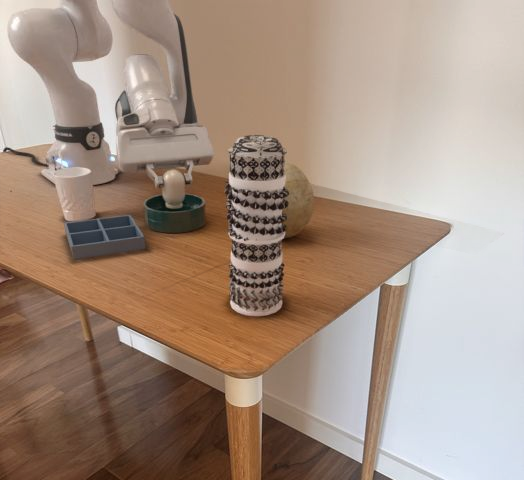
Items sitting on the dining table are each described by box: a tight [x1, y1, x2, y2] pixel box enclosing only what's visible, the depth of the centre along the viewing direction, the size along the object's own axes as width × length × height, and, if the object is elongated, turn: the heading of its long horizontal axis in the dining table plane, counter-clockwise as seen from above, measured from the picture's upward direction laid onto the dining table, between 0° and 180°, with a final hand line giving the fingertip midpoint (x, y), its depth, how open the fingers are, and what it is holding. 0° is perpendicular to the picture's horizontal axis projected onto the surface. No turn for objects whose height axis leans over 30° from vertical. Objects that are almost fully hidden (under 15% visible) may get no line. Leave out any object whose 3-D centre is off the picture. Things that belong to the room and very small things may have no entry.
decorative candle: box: [224, 134, 289, 317], centre depth 74 cm, size 9×9×25 cm
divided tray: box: [63, 214, 147, 261], centre depth 100 cm, size 14×14×3 cm
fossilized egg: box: [282, 161, 315, 239], centre depth 101 cm, size 13×13×15 cm
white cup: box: [52, 167, 97, 222], centre depth 110 cm, size 8×8×10 cm
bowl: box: [143, 192, 207, 234], centre depth 108 cm, size 13×13×5 cm
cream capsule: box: [161, 168, 186, 209], centre depth 105 cm, size 5×5×8 cm
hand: (174, 184), depth 104 cm, fingers closed on cream capsule, 5 cm apart
